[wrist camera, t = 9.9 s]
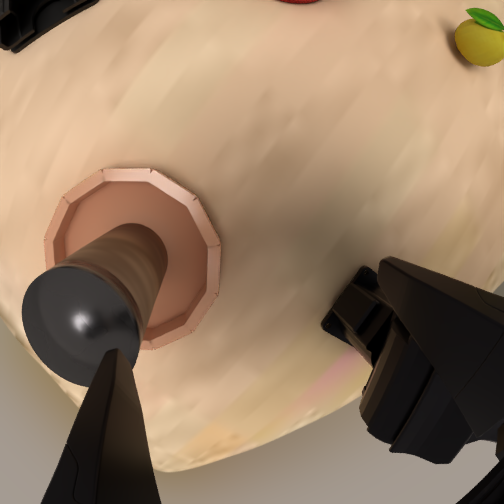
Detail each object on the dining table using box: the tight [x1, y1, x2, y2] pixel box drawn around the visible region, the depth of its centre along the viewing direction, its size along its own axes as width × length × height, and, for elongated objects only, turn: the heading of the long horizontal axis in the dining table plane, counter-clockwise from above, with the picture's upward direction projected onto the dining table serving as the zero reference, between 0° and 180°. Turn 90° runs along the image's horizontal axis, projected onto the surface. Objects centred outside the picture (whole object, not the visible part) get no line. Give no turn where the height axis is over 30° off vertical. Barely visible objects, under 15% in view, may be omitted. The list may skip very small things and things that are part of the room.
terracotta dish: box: [44, 168, 221, 350], centre depth 19 cm, size 13×13×2 cm
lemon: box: [455, 8, 504, 67], centre depth 15 cm, size 7×6×10 cm
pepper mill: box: [22, 223, 168, 387], centre depth 15 cm, size 5×5×11 cm
